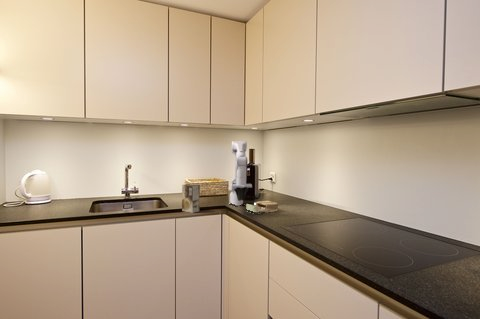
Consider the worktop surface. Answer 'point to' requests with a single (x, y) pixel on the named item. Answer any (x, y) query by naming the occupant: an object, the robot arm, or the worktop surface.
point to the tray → (254, 208)
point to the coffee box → (190, 198)
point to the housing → (268, 205)
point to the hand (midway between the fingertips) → (240, 200)
